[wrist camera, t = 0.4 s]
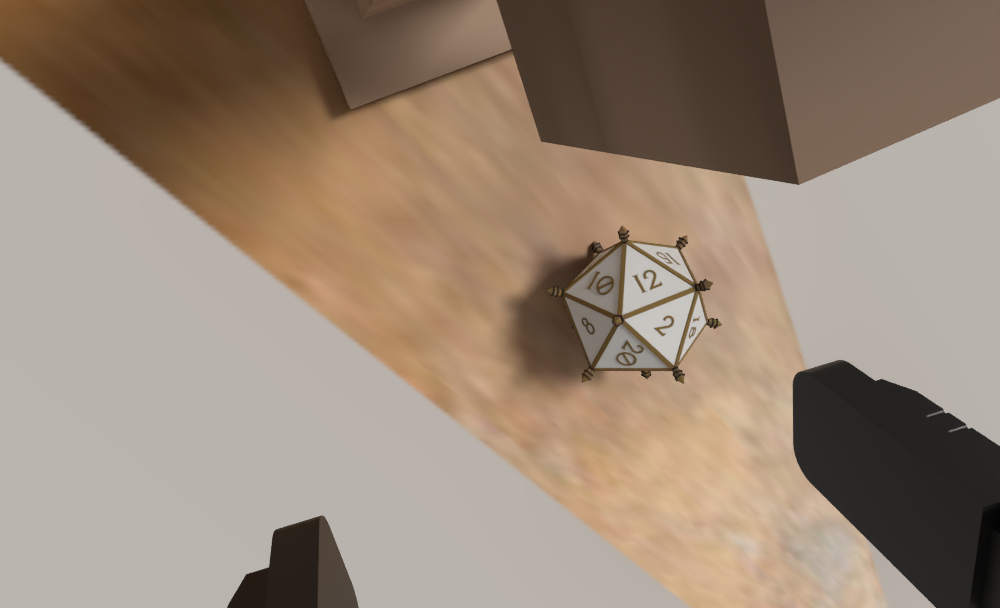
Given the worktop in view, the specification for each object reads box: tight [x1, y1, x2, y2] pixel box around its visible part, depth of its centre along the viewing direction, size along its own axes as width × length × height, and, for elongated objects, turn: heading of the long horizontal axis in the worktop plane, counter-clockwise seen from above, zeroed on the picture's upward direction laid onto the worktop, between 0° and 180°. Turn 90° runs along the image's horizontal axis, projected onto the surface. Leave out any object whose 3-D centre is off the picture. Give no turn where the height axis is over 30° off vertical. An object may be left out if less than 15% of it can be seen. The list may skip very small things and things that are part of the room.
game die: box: [546, 226, 722, 384], centre depth 37 cm, size 9×8×10 cm
